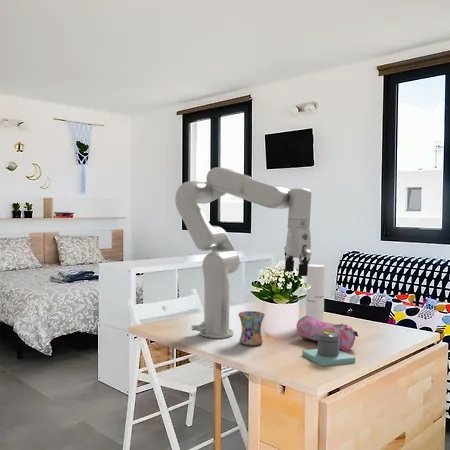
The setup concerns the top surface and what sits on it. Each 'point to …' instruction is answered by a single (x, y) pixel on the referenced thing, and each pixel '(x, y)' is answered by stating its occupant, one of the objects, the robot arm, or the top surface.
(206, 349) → the top surface
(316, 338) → the pencil case
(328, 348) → the knob
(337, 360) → the teal peg base
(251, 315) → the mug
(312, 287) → the cylindrical container
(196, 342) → the top surface
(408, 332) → the top surface
